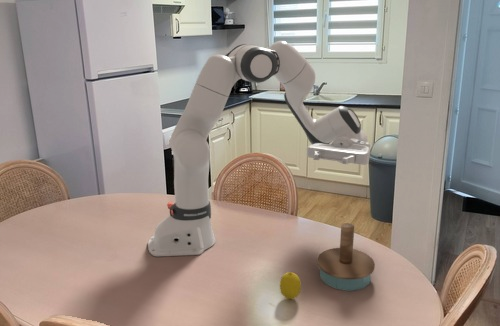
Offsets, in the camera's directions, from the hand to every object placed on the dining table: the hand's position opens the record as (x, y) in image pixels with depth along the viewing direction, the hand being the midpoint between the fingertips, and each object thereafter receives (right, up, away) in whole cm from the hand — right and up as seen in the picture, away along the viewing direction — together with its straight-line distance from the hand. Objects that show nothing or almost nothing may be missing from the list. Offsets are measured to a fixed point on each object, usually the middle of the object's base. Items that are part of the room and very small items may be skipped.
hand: (329, 159), depth 136 cm
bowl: (+3, -34, -9) cm, 35 cm away
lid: (+3, -30, -10) cm, 32 cm away
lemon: (-14, -37, -19) cm, 44 cm away
